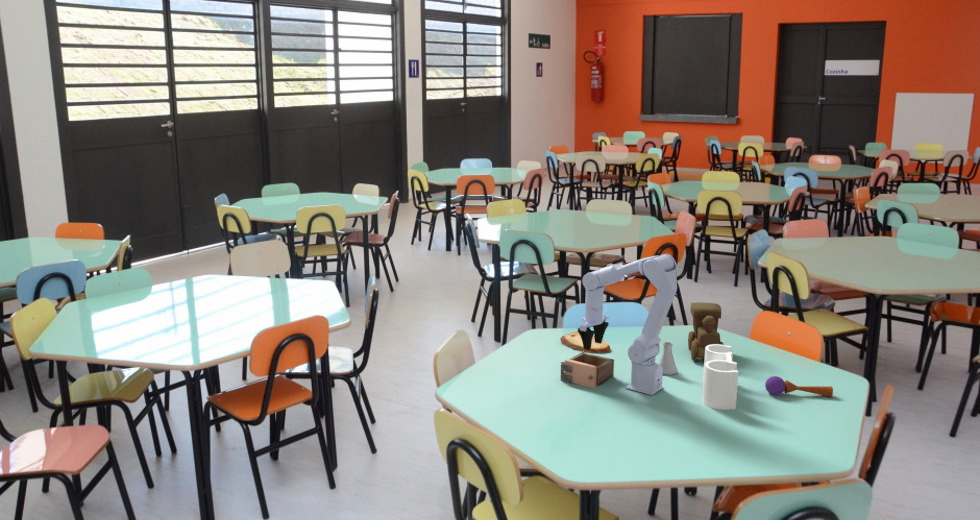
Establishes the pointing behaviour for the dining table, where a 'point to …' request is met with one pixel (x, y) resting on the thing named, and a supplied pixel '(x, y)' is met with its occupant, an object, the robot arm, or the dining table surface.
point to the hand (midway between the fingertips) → (592, 346)
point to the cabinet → (603, 364)
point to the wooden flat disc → (576, 343)
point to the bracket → (719, 378)
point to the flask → (668, 360)
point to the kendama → (794, 387)
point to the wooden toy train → (703, 328)
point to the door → (582, 373)
